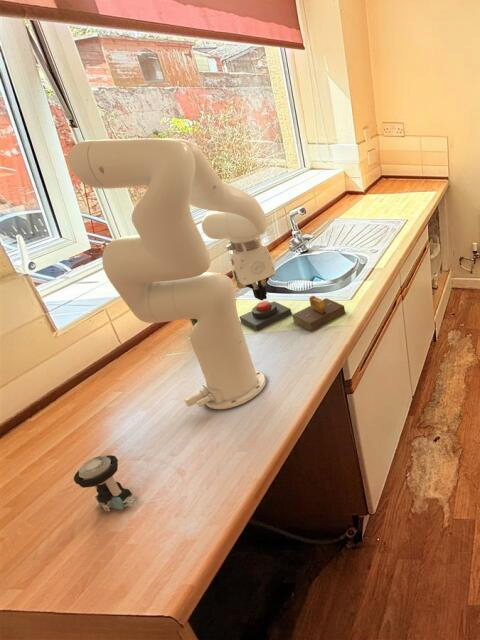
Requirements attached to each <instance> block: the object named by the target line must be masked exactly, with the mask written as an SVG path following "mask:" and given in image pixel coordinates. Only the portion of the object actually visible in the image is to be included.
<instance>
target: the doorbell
mask: <svg viewBox="0 0 480 640" xmlns="http://www.w3.org/2000/svg"><path fill="white" fill-rule="evenodd" d="M270 306H271V308H270V309H268V310H266V311H258V310H257V306H256V305H255V306H254V307H252V309H251V311H249V312H246V313H244V314H242V315H240V316H239V321H240V324H243V325H245V326H247V327H248V328H251V329H252V330H254V331H256V332H259V331H261V330H263V329H265V328H267V327H270V326H271V325H273V324H275V323H278V322H279V321H281V320H283V319H286V318H288V317H290V316H291V315H293V313H292V310H291V308H289V307H288V306H285V305H283V304H280V303H278V302H277V301H270Z"/></svg>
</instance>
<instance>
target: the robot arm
mask: <svg viewBox="0 0 480 640" xmlns="http://www.w3.org/2000/svg"><path fill="white" fill-rule="evenodd" d="M67 158H68V161H67V162H68V166H69V168H70V171H71V172H72V174H73V175H74V176H75V177H76V179H77V180H78V181H80V182H81V183H82V184H84V185H86V186H87V187H91V188H93V189H97V190H99V189H101V190H107V189H108V190H109V189H111V190H112V189H127V188H129V189H130V188H145V187H146V189H145V191H144V192H143V194H142V195H141V197H140V198H139V199H138V201H137V202H136V204H135V205H134V208H133V210H132V212H131V221H132V224H133V226H134V229H135V231H136V233H137V234H136V235H128V236H122V237H117V238H115V239H113V240H110V242H108V243H107V244H106V246H105V247H104V248H103V252H102V256H101V260H102V261H101V262H102V267H103V271H104V273H105V275H106V277H107V279H108V281H109V282H110V284H111V285H112V286H113V288H114V289H115V290H116V292H117V293H118V295H119V296H120V297H121V299H122V301H123V302H124V303H125V305H126V306H127V307H128V309H129V310H130V311H131V313H132V314H133V315H134V316H135V317H136V318H137V319H138V320H139V321H141V322H144V323H146V324H158V323H160V324H161V323H167V322H174V321H183V320H190V319H197V320H198V321H197V323H196V324H195V325H194V326H193V327H192V328H191V331H190V333H189V340H190V343H191V347H192V348H193V351H194V354H195V356H196V360H197V361H198V364H199V367H200V369H201V372H202V374H203V378H204V379H205V382H203V383H202V387H203V388H201V389H199V392H197V393H195V394H192V395H191V396H189V397H187V398H185V399H184V403H185V405H186V406H187V407H188V408H190V407H192V406H194V405H197V406H198V407H199V408H201V407H202V406H204V405H205V406H207V407H208V408H210V409H215V410H225V409H226V410H227V409H231V408H234V407H238V406H240V405H243V404H245V403H248V402H249V401H251V400H253V399H254V398H255V397H257V395H259V394H260V393H261V392H262V390H263V389H264V388H265V385H266V383H267V379H266V376H265V374H264V373H263V372H262V371H259V370H257V369H255V366H254V363H253V359H252V357H251V354H250V350H249V347H248V344H247V341H246V338H245V335H244V331H243V328H242V323H241V320H240V316H239V314H238V309H237V301H236V299H237V298H236V289H235V285H234V282H233V280H232V279H231V277H229V276H228V275H227V274H224V273H220V272H213V271H212V272H211V271H210V272H209V271H208V270H209V269H210V268H211V267H210V266H211V263H212V260H211V256H210V252H209V250H208V247H207V245H206V243H205V241H204V239H203V236H202V235H201V233H200V230H199V228H198V226H197V225H196V222H195V220H194V218H193V215H192V212H191V206H192V207H195V208H197V209H201V210H207V211H209V212H208V213H207V214H205V216H204V217H203V218H202V221H201V229H202V232H203V234H204V235H205V236H206V237H208V238H209V239H212V240H228V244H227V245H226V246H225V250H226V251H229V260H230V267H231V273H232V276H233V279H234V281H235V282H236V288H238V289H246V288H248V289H251V290H252V293H253V296H254V298H255V299H257V300H259V301H261V302H263V301H264V300H267V299H268V297H267V296H268V295H267V294H268V292H267V289H266V287H267V283H268V281H269V279H271V278H272V277H274V276H275V275H276V274H275V273H276V267H275V264H274V261H273V258H272V256H271V253H270V251H269V249H268V247H267V246H266V244H265V243H262V240H261V236H262V235H264V234H265V233H266V232H267V230H268V227H269V225H268V224H269V223H268V218H267V216H266V212H265V211H264V210H263V208H262V206H261V204H260V203H259V201H258V200H257V199H256V198H255V197H254V196H253V195H251V194H250V193H248V192H246V191H244V190H242V189H240V188H238V187H236V186H234V185H232V184H228V183H226V182H223V181H222V180H221V177H219V175H218V173H217V172H216V171H215V169H214V168H213V166H212V165H211V163H210V162H209V160H208V159H207V158H206V156H205V155H204V153H203V151H201V149H200V148H199V147H198V146H197V145H196V144H195V143H193V142H192V141H189V140H186V139H182V138H156V137H155V138H154V137H153V138H149V137H148V138H121V139H120V138H119V139H117V138H116V139H115V138H114V139H86V140H82V141H78V142H77V143H76V144H74V145H73V146H72V147H71V149H70V150H69V152H68V156H67Z"/></svg>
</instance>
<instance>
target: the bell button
mask: <svg viewBox="0 0 480 640" xmlns="http://www.w3.org/2000/svg"><path fill="white" fill-rule="evenodd" d="M270 303H271V301H268V300H262V301H261V302H260V301H259V302H258V303H257V304H256V305H255V306H257V310H258V311H266V310H268V309H270V308H271V306H270Z"/></svg>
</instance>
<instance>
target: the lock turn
mask: <svg viewBox="0 0 480 640" xmlns="http://www.w3.org/2000/svg"><path fill="white" fill-rule="evenodd" d="M323 300H324V299H321V298H319V297H316V296H315V295H311V296H309V303H310V306H311V308H312V309H314V310H316V311H318V312H320V313H323V312H325V306H324V301H323Z"/></svg>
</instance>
